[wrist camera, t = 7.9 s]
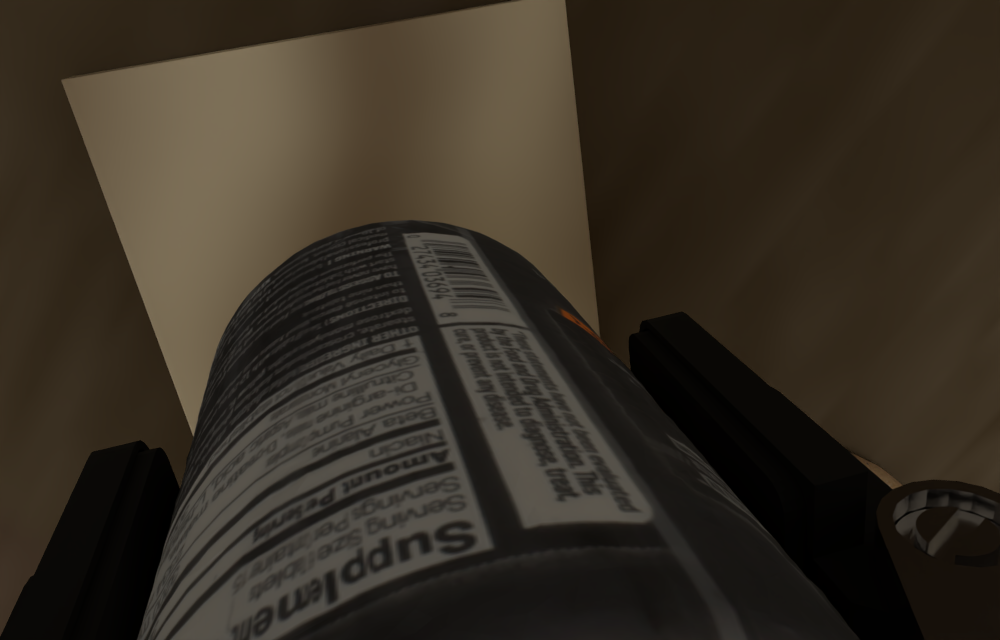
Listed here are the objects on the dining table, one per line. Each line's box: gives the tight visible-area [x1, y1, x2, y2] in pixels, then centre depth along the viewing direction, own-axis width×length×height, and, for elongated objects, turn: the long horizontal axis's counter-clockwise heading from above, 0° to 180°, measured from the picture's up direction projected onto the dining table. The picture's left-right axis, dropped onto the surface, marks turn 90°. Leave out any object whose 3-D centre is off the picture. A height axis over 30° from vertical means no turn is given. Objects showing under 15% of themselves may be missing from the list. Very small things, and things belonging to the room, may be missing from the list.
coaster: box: [61, 0, 600, 437], centre depth 18 cm, size 10×10×1 cm
